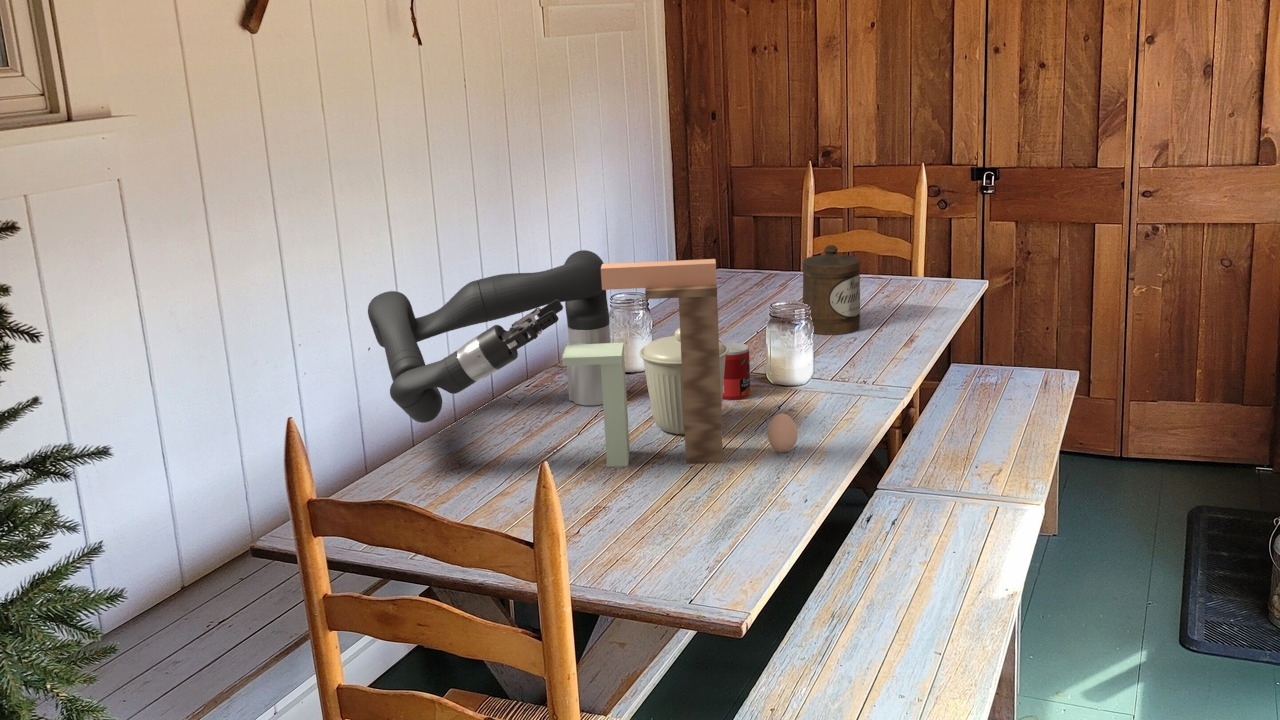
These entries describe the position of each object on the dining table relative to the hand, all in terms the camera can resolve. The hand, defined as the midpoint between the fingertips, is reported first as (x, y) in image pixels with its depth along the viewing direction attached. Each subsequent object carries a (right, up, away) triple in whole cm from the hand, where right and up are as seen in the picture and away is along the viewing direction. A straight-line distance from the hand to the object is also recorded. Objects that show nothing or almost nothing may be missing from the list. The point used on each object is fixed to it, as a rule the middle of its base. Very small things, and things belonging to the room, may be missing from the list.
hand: (558, 309), depth 224 cm
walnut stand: (+24, -28, +8) cm, 38 cm away
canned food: (+36, -17, +42) cm, 58 cm away
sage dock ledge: (+8, -29, +8) cm, 31 cm away
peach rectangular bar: (+19, +4, -2) cm, 19 cm away
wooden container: (+65, -1, +92) cm, 113 cm away
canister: (+25, -23, +24) cm, 42 cm away
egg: (+43, -27, +8) cm, 51 cm away
